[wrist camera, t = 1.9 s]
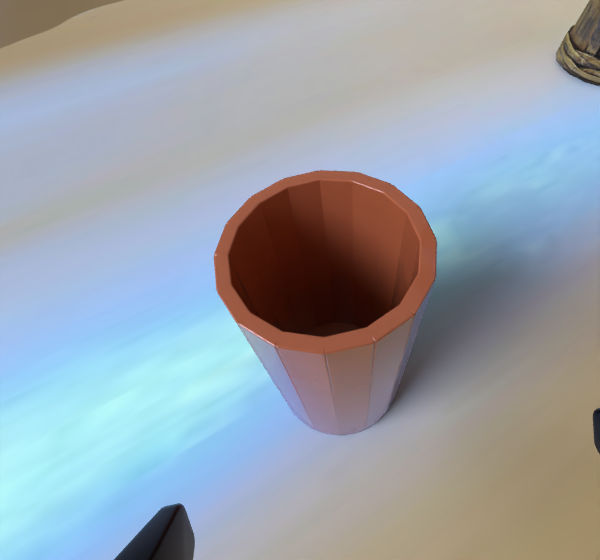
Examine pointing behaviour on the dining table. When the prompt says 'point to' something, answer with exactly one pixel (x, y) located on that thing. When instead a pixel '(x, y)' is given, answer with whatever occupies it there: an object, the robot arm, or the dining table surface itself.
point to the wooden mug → (583, 46)
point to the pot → (329, 291)
